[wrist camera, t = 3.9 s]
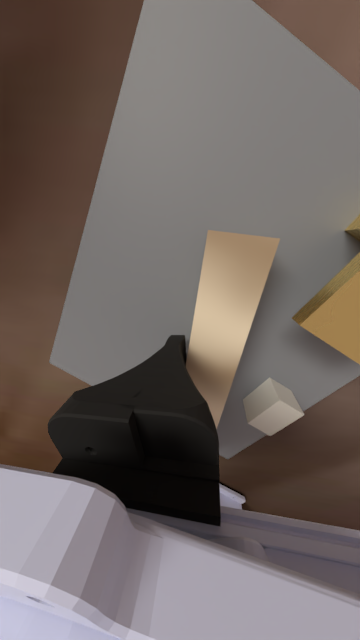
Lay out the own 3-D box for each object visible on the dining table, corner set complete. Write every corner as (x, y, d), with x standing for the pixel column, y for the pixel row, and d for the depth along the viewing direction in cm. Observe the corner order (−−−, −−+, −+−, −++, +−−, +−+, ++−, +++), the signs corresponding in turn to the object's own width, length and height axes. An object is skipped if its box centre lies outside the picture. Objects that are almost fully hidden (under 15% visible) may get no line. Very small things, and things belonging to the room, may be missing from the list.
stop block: (291, 390, 13) (304, 414, 11) (262, 411, 14) (270, 436, 12) (269, 377, 12) (279, 399, 11) (242, 399, 14) (247, 423, 12)
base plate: (515, 251, 8) (552, 252, 7) (226, 448, 18) (227, 459, 17) (169, -31, 7) (163, -74, 6) (57, 356, 16) (49, 362, 16)
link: (210, 435, 16) (210, 474, 13) (172, 426, 16) (165, 463, 14) (271, 240, 9) (299, 238, 6) (202, 232, 9) (200, 227, 6)
